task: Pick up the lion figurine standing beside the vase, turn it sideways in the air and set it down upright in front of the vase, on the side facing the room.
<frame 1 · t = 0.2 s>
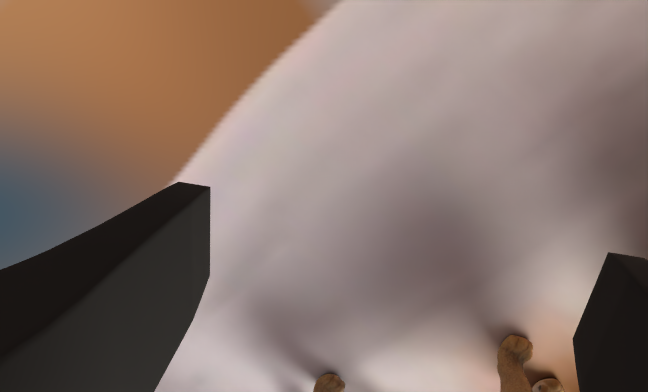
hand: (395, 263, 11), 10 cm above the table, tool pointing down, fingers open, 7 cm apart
lion figurine: (460, 367, 26), on the table
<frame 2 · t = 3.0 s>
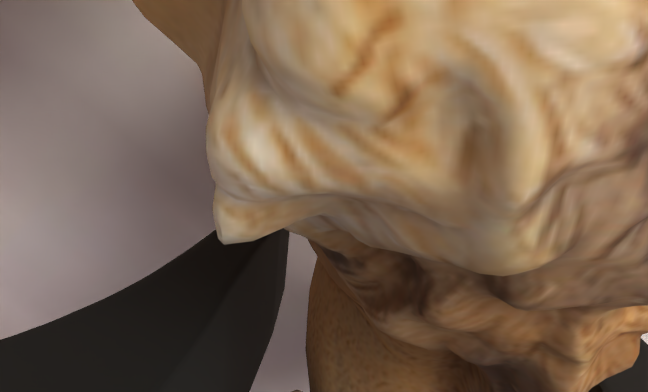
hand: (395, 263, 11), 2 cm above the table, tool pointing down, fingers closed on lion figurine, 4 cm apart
lion figurine: (347, 181, 12), on the table, touching gripper
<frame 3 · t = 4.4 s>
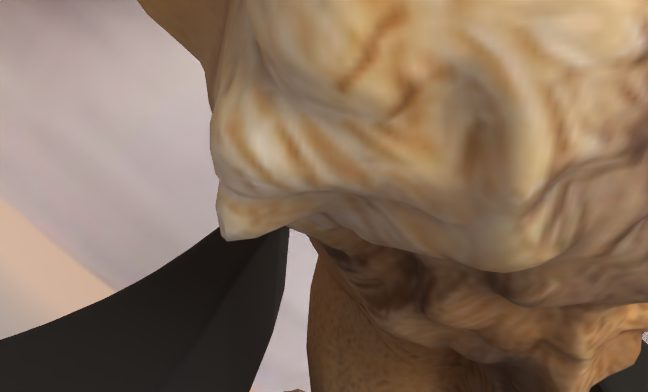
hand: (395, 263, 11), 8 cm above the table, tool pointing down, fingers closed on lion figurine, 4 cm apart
lion figurine: (347, 181, 12), point 7 cm above the table, touching gripper
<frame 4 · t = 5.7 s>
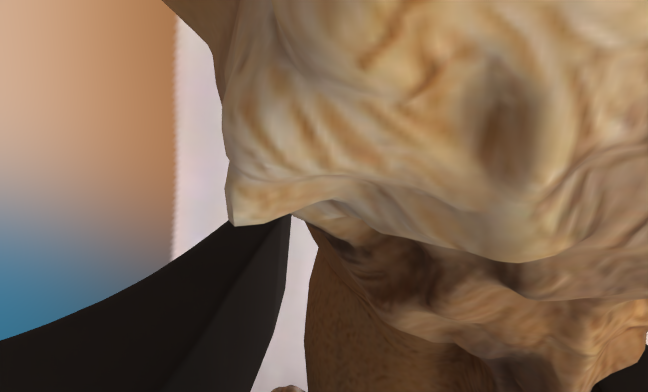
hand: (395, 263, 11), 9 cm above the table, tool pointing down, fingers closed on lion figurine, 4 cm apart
lion figurine: (346, 177, 12), point 8 cm above the table, touching gripper
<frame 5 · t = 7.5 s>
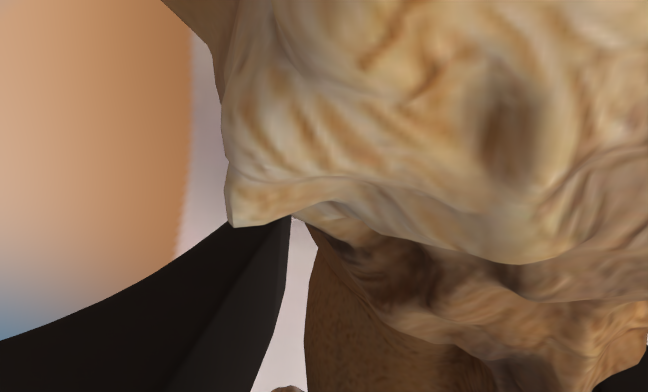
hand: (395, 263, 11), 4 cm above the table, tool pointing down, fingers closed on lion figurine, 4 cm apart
lion figurine: (346, 177, 12), point 3 cm above the table, touching gripper
when the fingers open (2 cm above the table, at t = 8.6 s): lion figurine stays where it is, on the table.
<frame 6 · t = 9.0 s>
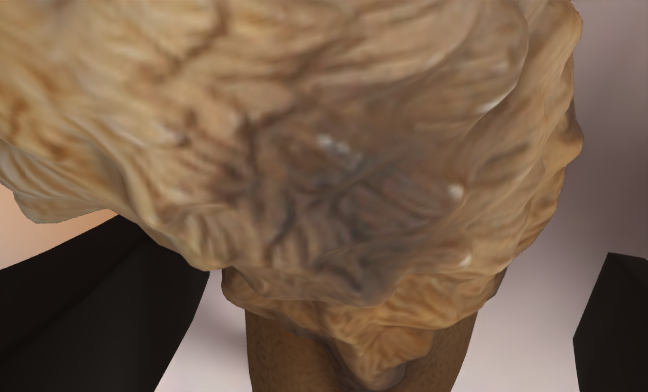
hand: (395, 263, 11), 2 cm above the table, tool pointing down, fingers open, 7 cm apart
lion figurine: (350, 155, 13), on the table
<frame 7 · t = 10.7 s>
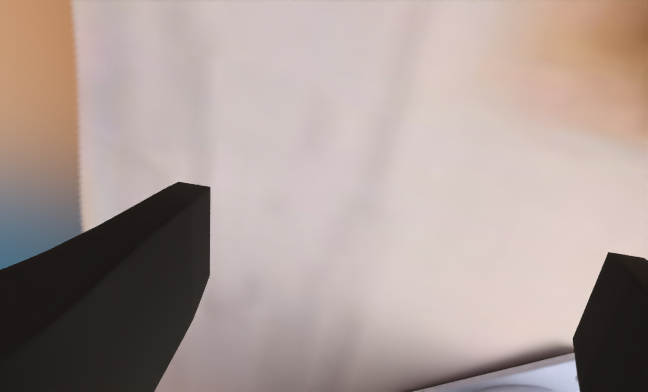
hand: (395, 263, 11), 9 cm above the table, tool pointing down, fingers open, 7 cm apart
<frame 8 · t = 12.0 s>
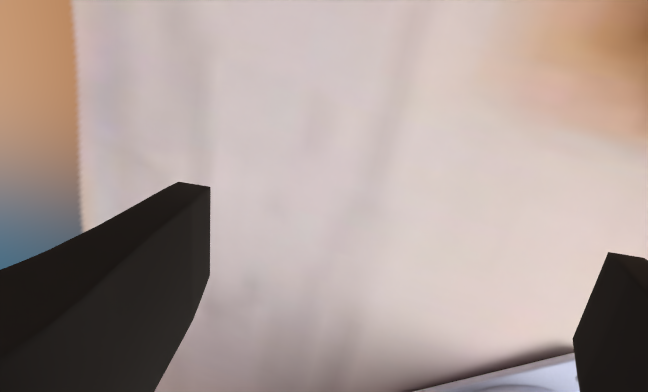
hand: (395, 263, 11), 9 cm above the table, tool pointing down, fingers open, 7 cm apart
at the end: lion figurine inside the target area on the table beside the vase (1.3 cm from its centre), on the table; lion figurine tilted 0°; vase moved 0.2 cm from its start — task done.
